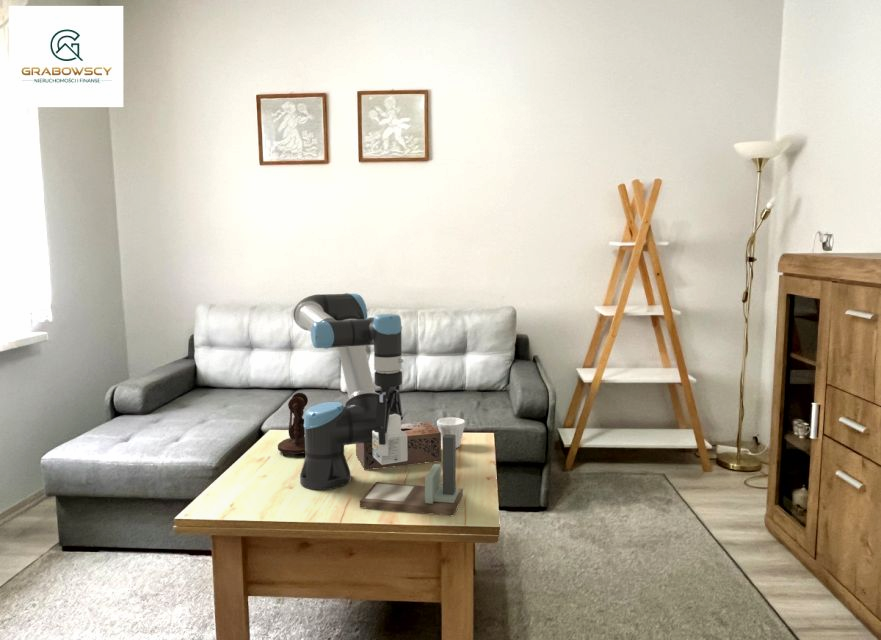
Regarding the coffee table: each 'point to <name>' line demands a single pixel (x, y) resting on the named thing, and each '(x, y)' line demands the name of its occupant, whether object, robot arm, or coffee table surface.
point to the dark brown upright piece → (295, 426)
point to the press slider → (449, 475)
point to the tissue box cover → (419, 446)
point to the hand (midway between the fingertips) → (389, 448)
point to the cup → (451, 428)
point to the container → (392, 442)
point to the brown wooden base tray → (405, 499)
